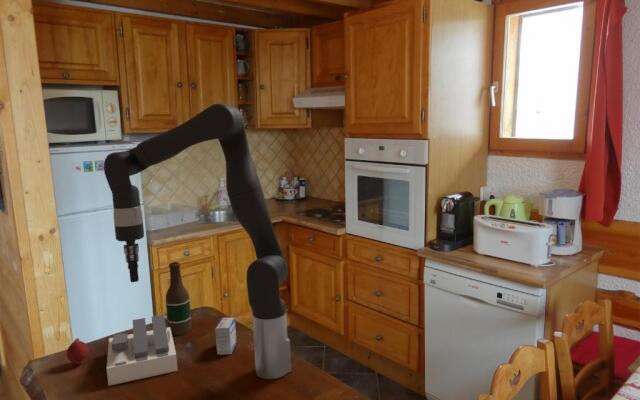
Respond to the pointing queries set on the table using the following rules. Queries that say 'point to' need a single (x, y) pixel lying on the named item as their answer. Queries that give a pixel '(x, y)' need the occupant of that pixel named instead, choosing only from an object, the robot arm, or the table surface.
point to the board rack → (139, 360)
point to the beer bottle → (178, 303)
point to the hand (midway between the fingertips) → (134, 281)
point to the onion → (77, 351)
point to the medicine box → (225, 336)
